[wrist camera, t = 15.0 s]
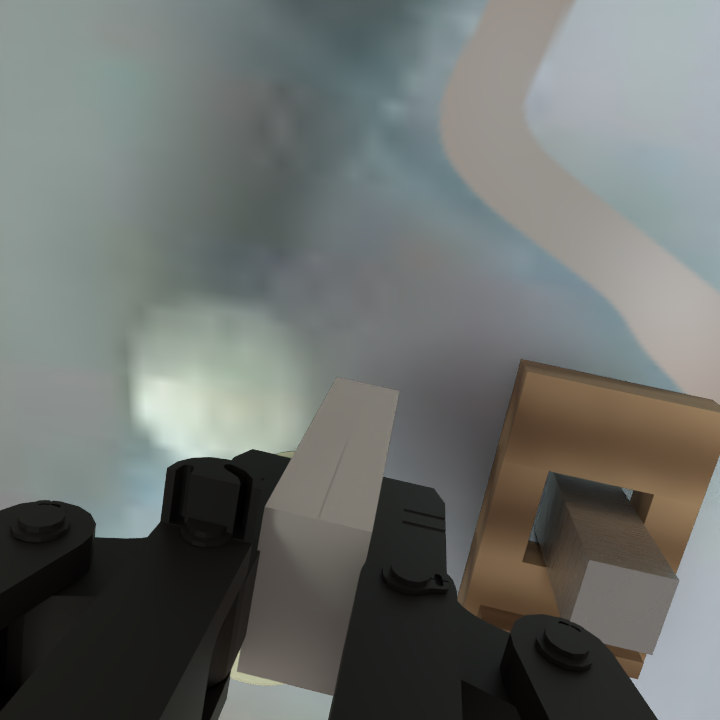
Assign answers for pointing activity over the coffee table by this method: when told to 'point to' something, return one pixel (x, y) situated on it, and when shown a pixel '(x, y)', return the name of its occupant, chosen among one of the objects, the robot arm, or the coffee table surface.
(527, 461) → the jig
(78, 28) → the coffee table surface
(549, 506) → the grey square block
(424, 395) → the coffee table surface
